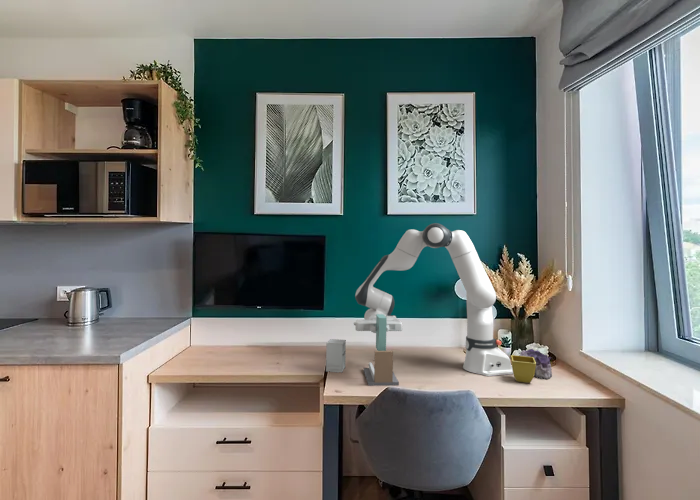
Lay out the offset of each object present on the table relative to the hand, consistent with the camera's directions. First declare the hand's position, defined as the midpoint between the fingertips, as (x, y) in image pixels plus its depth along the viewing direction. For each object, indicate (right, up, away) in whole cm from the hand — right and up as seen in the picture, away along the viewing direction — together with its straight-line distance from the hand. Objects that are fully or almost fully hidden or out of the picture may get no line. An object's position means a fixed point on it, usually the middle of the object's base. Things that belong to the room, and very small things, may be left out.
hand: (381, 329), depth 160 cm
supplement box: (-19, -20, +11) cm, 30 cm away
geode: (+70, -21, +11) cm, 74 cm away
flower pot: (+58, -21, -1) cm, 62 cm away
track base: (0, -20, +1) cm, 20 cm away
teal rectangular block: (0, -8, 0) cm, 8 cm away
